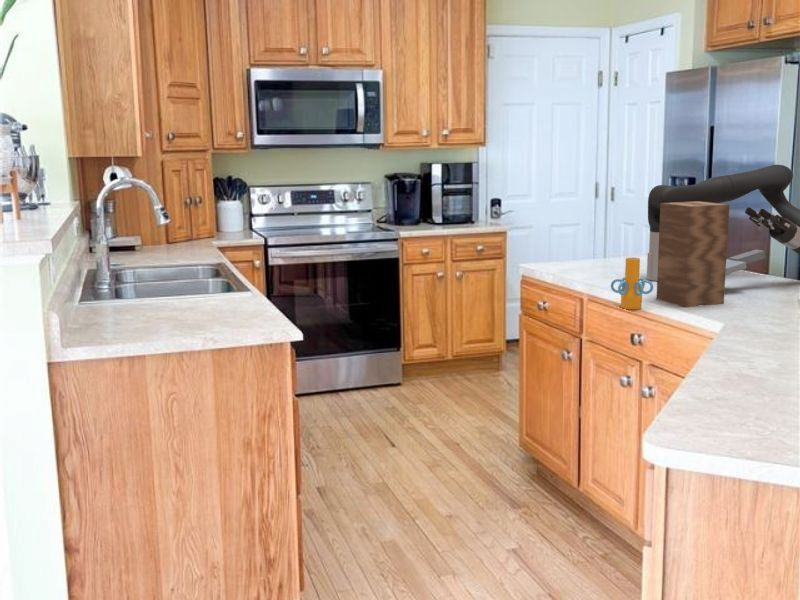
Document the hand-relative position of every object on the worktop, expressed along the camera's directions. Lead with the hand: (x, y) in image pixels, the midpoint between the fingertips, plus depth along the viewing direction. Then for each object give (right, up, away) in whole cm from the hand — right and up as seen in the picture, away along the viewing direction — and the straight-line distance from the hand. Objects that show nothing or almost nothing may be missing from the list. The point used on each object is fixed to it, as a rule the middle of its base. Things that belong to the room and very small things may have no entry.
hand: (753, 210), depth 264 cm
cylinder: (-46, -32, -21) cm, 60 cm away
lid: (-6, -18, +1) cm, 19 cm away
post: (-26, -30, -13) cm, 41 cm away
